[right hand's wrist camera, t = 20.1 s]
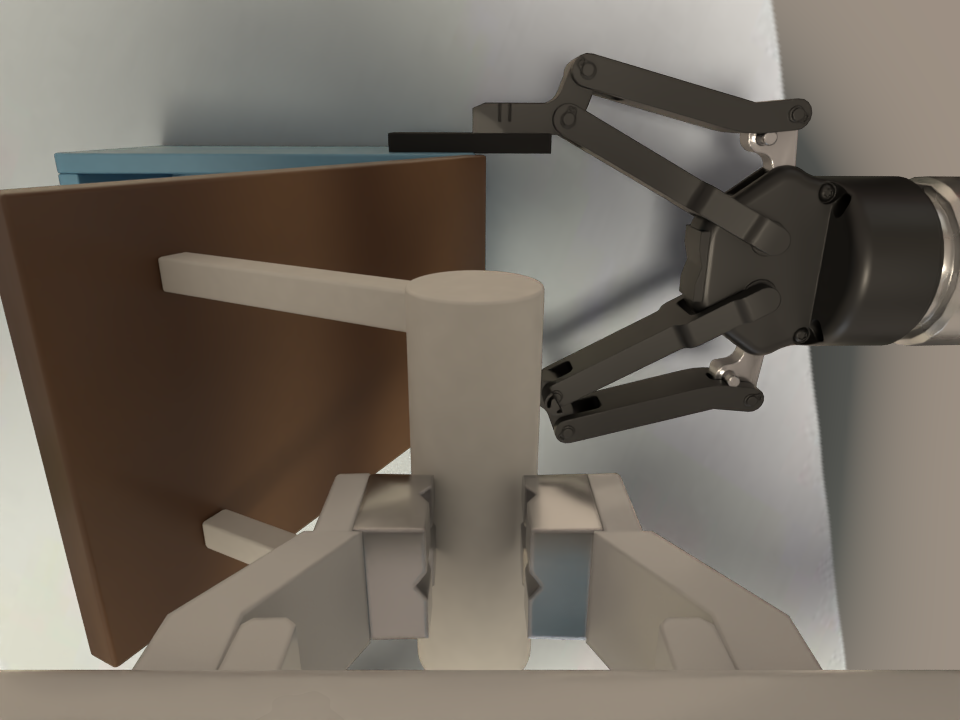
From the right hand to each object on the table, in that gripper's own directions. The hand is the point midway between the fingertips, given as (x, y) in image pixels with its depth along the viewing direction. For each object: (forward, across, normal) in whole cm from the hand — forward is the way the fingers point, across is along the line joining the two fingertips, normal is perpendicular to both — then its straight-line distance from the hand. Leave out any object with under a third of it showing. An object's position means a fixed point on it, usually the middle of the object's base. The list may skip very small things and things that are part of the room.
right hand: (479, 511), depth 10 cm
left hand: (+20, -4, 0) cm, 20 cm away
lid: (+9, -4, 0) cm, 10 cm away
